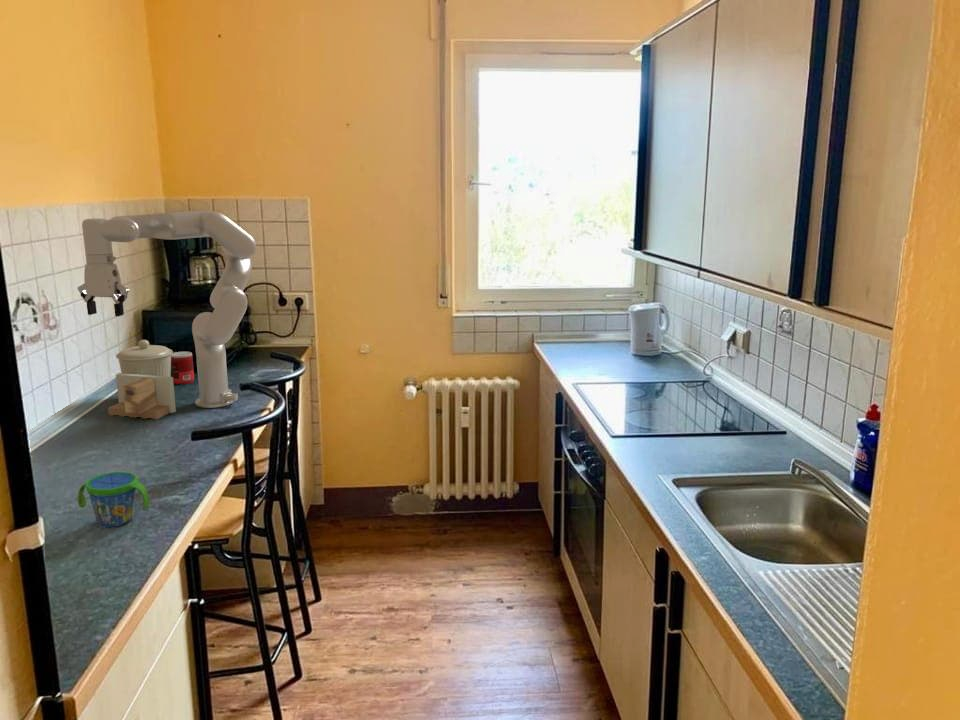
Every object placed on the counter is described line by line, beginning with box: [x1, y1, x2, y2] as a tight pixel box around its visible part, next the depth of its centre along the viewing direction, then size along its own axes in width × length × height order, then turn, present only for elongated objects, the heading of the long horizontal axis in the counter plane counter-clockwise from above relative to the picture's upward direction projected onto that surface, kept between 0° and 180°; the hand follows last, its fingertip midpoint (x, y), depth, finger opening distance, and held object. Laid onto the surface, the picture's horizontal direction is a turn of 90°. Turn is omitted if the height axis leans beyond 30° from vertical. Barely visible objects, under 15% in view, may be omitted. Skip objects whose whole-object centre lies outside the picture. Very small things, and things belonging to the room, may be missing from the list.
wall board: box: [107, 372, 177, 420], centre depth 250 cm, size 20×8×12 cm, turn 77°
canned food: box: [171, 351, 195, 385], centre depth 287 cm, size 8×8×11 cm
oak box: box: [123, 378, 157, 414], centre depth 247 cm, size 5×10×9 cm, turn 167°
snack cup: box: [77, 471, 150, 528], centre depth 174 cm, size 16×10×10 cm
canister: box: [115, 339, 174, 377], centre depth 265 cm, size 18×18×21 cm
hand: (105, 314), depth 236 cm, fingers open, 9 cm apart
